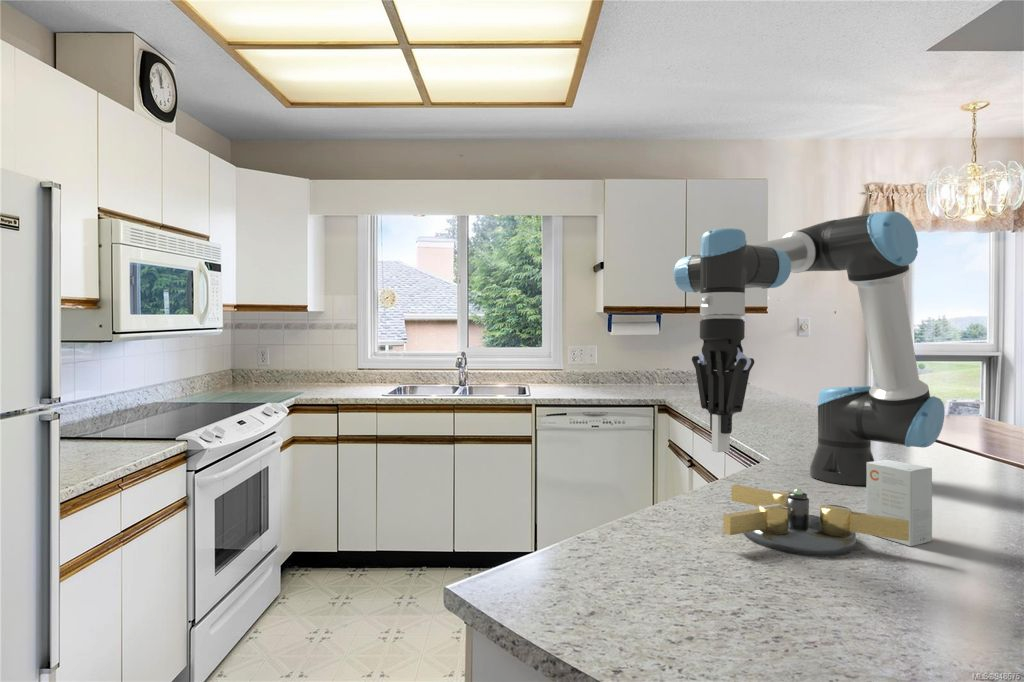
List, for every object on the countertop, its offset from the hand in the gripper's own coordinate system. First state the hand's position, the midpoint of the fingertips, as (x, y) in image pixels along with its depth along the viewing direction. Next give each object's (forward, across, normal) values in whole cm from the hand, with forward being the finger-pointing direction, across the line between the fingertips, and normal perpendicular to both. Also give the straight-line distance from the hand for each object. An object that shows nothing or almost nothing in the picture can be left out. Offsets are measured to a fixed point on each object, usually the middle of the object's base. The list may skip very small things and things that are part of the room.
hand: (720, 451), depth 107 cm
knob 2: (+13, +6, +3) cm, 15 cm away
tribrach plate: (+15, +6, +13) cm, 21 cm away
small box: (+16, +13, +29) cm, 36 cm away
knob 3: (+13, +14, +18) cm, 26 cm away
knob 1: (+13, -4, +15) cm, 20 cm away
